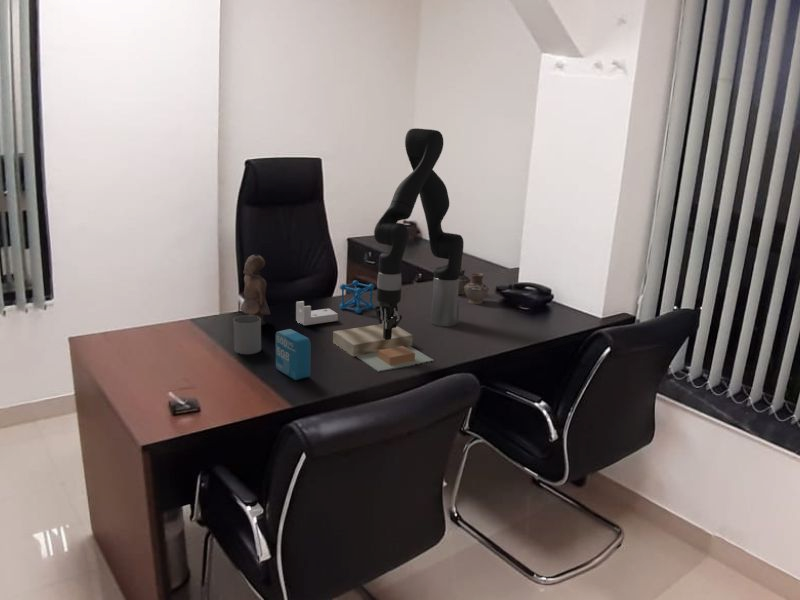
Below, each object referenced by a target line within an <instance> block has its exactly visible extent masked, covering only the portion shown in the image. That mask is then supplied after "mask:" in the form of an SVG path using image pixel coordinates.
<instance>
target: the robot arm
mask: <svg viewBox="0 0 800 600" xmlns="http://www.w3.org/2000/svg"><path fill="white" fill-rule="evenodd" d="M404 145H405V146H404V147H405V150H406V152H405V153H406V154H407V158H408V161H409V164H410V166H411V168H412V172H411V173H409V175H407V176H406V177H405V178H404V179H403V180H402V181H401V182H400V183H399V185H398V186H397V187H396V189H395V191H394V193H393V194H394V195H392V199H391V202H390V204H389V207H388V208H387V209H386V210H385V212H384V213H383V215H382V216H381V217H380V219H378V222H377V223H376V224H375V227H374V231H373V235H374V236H373V237H374V240H375V241H376V242H377V243H378V244H381V245H387V246H392V247H391V249H390V251H385V252H382V253H380V254H379V256H378V257H379V258H378V272H377V273H378V274H377V278H376V279H377V284H376V286H377V287H376V300H377V302H379V304H378V305H376V306H374V309H375V312H376V316H377V319H378V322H379V324H382V327H383V338H384V339H385V340H389V339H391V337H392V328H396V327H398V325H399V323H400V322H401V320H402V319H403V316H402V314H399V312H398V310H399V309H398V303H400V302H401V300H402V279H403V277H402V264H403V257H404V253H405V250H406V247H407V244H408V241H409V238H410V233H409V229H408V226H406V225H405V224H404V223H400V222H399V221H404V220H408V219H409V218H411V216H412V213H413V210H414V207H415V205H416V204H417V203H416V202H417V200H418V197H419V198H420V201H421V207H422V210H423V213H424V217H425V221H426V226H427V232H428V240H429V241H428V242H429V247H430V251H431V254H432V255H433V257H436V258H438V259H439V258H440V259H445V260H448V262H447V265H442V266H439V267H436V268H434V270H433V282H432V300H431V313H430V314H431V315H430V322H431V324H432V325H435V326H438V327H453V326H456V325H458V324H459V322H460V321H459V319H460V307H461V306H460V304H461V298H460V297H459V295H458V289H459V275H460V270H461V268H462V263H463V262H462V261H463V254H464V238H463V236H462V235H461V234H457V233H451V232H445V231H443V228H442V221H443V220H444V219H445V216H446V214H447V212H448V211H449V207H450V198H449V193H448V189H447V186H446V184H445V182H444V181H443V180H442V179H441V177H440V176H439V175H438V174H437V172H435V170H434V167H435V166H436V164H437V163H438V160H439V159H440V156H441V154H442V152H443V150H444V149H443V148H444V137H443V134H442V133H441V131H439V130H436V129H428V128H416V127H415V128H410V129H409V130H408V131H407V132H406V135H405V139H404Z"/></svg>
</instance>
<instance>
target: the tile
mask: <svg viewBox="0 0 800 600" xmlns="http://www.w3.org/2000/svg"><path fill="white" fill-rule="evenodd" d="M378 358H379V359H381V360H382V361H384V362H385V363H387V364H389V365H394V364H399V363H404V362H409V361H415V353H414V352H412V351H411V350H409V349H407V348H406V347H404V346H399V347H393V348H388V349H382V350H378Z"/></svg>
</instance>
